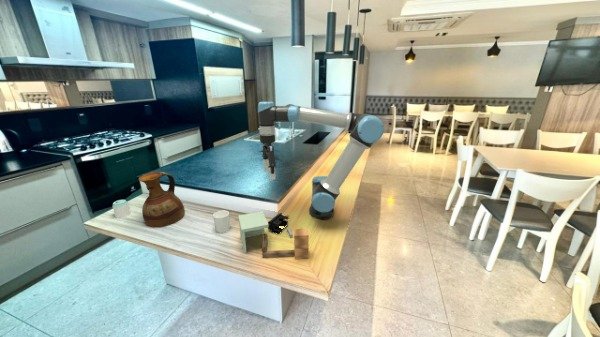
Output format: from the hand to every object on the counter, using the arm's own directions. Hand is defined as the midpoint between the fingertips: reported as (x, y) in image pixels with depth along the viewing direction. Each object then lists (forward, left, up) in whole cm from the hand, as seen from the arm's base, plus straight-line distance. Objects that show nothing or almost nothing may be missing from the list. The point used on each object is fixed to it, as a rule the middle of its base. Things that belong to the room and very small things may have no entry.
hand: (269, 175), depth 119 cm
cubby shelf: (+12, +14, -29) cm, 34 cm away
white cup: (+26, -2, -29) cm, 39 cm away
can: (+79, -33, -29) cm, 90 cm away
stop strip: (-6, +14, -29) cm, 32 cm away
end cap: (-2, +6, -29) cm, 30 cm away
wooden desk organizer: (-6, +31, -29) cm, 42 cm away
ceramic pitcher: (+56, -23, -29) cm, 67 cm away
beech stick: (-4, 0, -29) cm, 29 cm away
